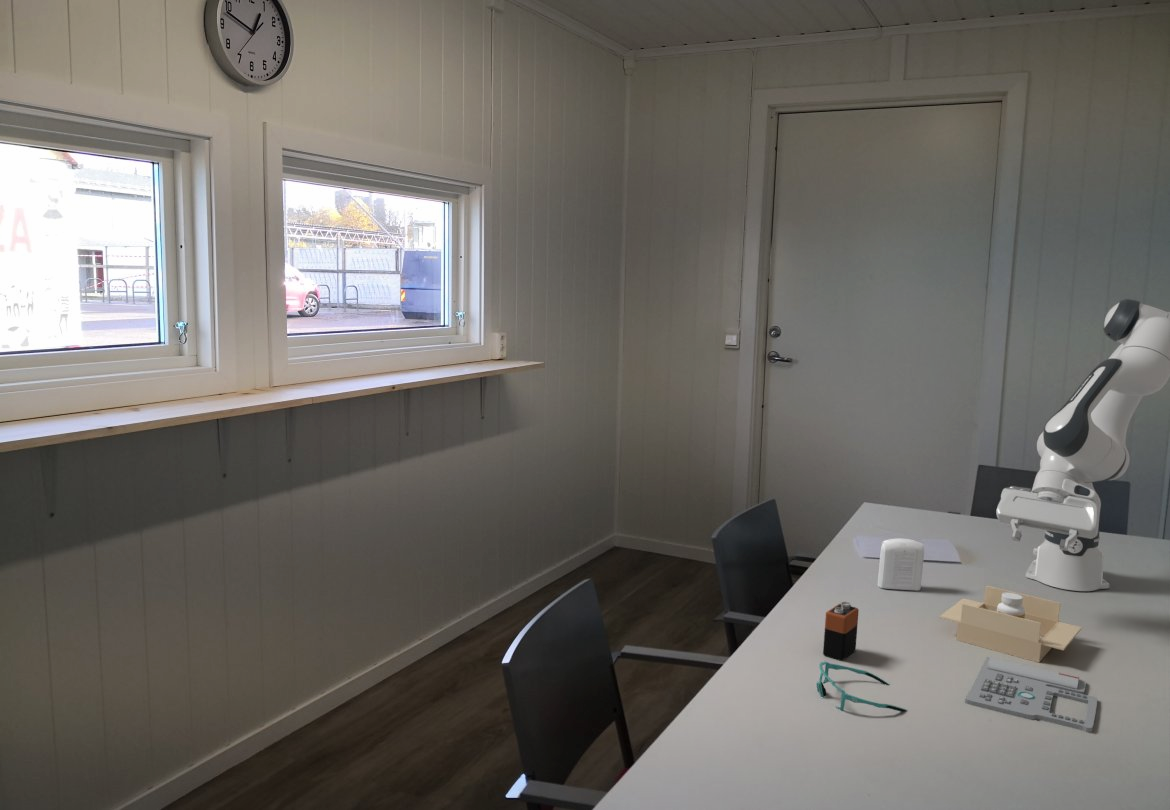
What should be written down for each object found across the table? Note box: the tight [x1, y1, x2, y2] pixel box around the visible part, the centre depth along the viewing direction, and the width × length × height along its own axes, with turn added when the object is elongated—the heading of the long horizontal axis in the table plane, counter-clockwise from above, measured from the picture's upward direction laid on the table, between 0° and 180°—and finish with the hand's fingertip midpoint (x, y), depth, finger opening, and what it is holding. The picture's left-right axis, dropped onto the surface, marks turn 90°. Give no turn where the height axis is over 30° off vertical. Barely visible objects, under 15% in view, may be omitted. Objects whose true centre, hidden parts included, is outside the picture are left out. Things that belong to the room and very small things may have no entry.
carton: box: [939, 585, 1083, 663], centre depth 191 cm, size 16×24×8 cm, turn 50°
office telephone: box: [964, 656, 1098, 734], centre depth 167 cm, size 23×3×20 cm
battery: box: [822, 601, 860, 661], centre depth 182 cm, size 4×7×10 cm, turn 142°
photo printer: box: [877, 537, 925, 592], centre depth 222 cm, size 10×4×12 cm, turn 86°
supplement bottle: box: [997, 593, 1025, 619], centre depth 191 cm, size 5×5×10 cm
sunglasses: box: [816, 661, 908, 713], centre depth 164 cm, size 14×15×5 cm
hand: (1039, 544), depth 198 cm, fingers open, 8 cm apart
